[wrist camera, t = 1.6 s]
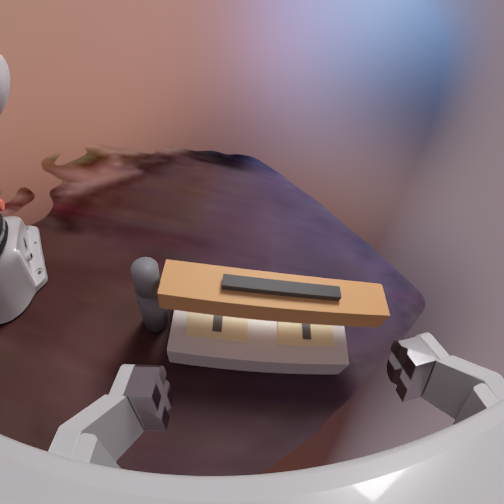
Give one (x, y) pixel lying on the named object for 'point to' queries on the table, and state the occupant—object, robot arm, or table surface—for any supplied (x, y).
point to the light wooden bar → (260, 294)
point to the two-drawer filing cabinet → (248, 342)
